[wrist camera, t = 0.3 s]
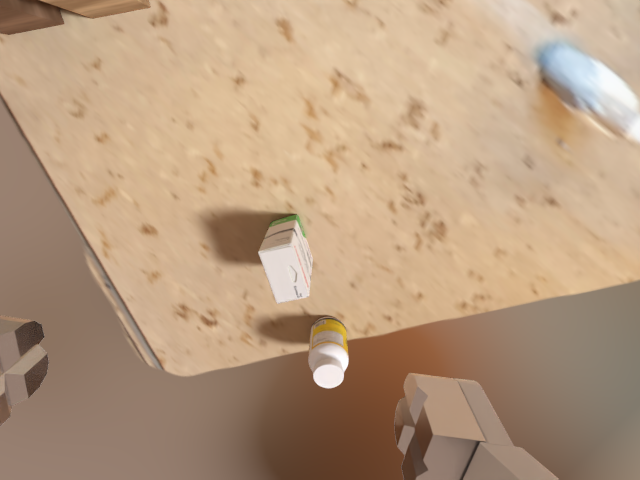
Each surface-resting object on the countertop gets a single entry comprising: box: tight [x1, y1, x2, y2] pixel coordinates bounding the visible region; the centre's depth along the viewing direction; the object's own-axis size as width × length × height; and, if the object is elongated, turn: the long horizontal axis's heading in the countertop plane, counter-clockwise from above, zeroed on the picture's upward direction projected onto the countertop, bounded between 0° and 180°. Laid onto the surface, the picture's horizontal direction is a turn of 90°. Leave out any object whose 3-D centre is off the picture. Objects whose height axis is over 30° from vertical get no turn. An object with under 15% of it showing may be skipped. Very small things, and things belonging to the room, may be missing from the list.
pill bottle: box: [308, 317, 348, 388], centre depth 58 cm, size 6×6×12 cm
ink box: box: [258, 214, 313, 304], centre depth 51 cm, size 9×5×12 cm, turn 16°
